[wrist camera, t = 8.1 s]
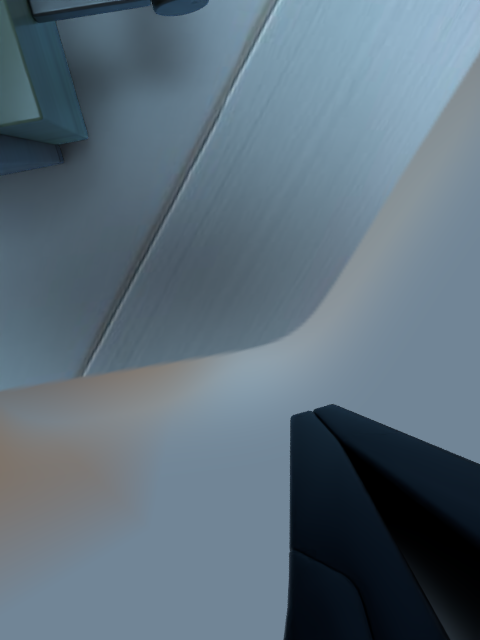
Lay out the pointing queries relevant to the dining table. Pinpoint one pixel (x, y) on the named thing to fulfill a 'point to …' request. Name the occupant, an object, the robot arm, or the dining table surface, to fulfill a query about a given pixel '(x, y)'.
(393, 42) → the dining table surface
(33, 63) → the drawer
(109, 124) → the dining table surface
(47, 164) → the cabinet
